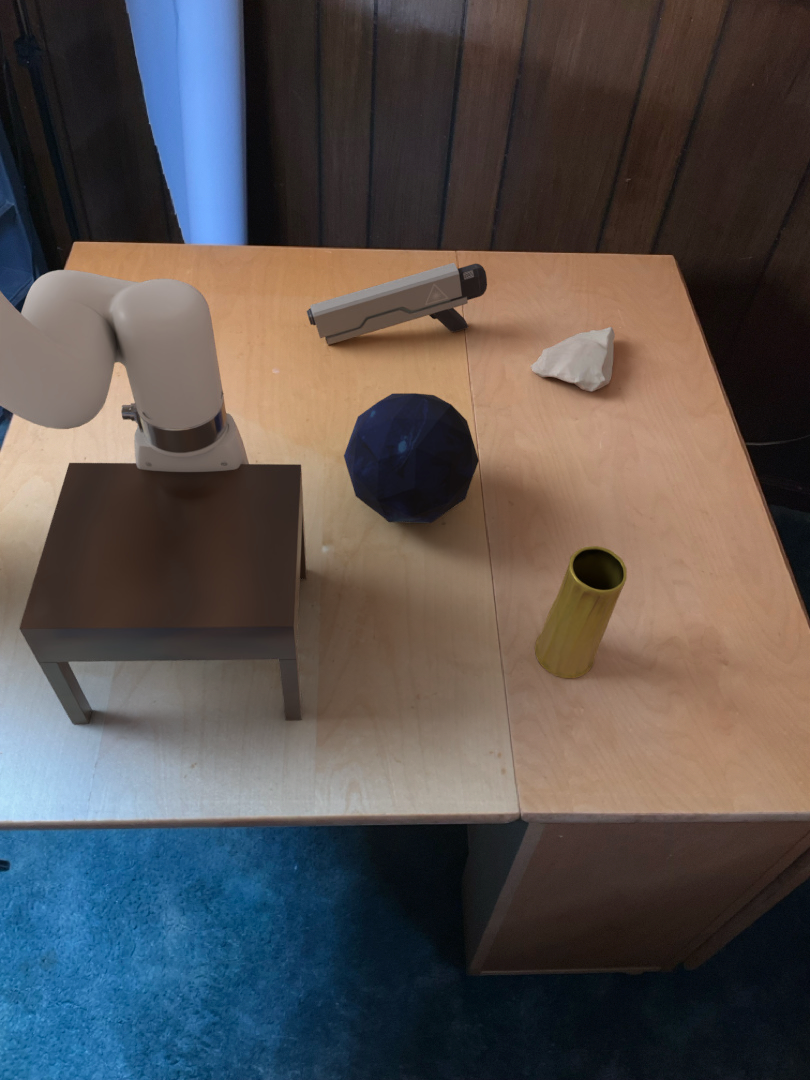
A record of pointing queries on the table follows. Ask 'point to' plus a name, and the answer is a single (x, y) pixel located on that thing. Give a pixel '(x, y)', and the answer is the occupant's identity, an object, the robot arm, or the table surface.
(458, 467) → the decorative orb
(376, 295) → the gun
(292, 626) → the miniature coffee table
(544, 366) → the stone
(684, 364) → the table surface
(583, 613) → the vase
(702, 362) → the table surface
